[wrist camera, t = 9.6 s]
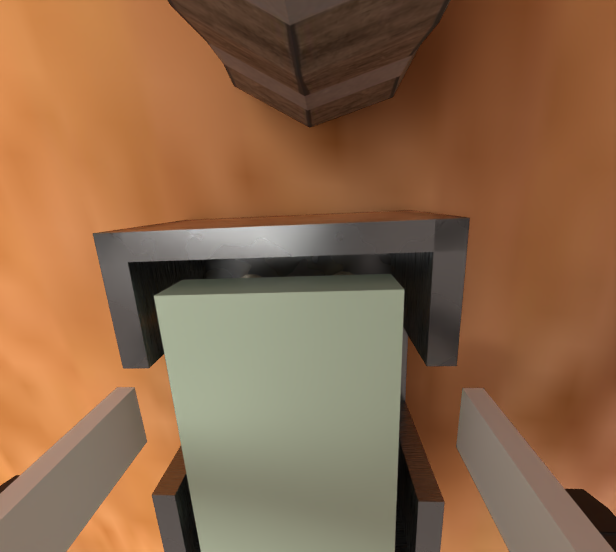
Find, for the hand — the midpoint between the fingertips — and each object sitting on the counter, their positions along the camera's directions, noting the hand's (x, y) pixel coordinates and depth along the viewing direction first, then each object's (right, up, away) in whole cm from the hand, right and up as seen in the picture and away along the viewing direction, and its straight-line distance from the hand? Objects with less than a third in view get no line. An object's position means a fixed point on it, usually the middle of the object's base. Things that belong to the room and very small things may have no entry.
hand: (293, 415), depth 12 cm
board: (0, 0, +1) cm, 1 cm away
